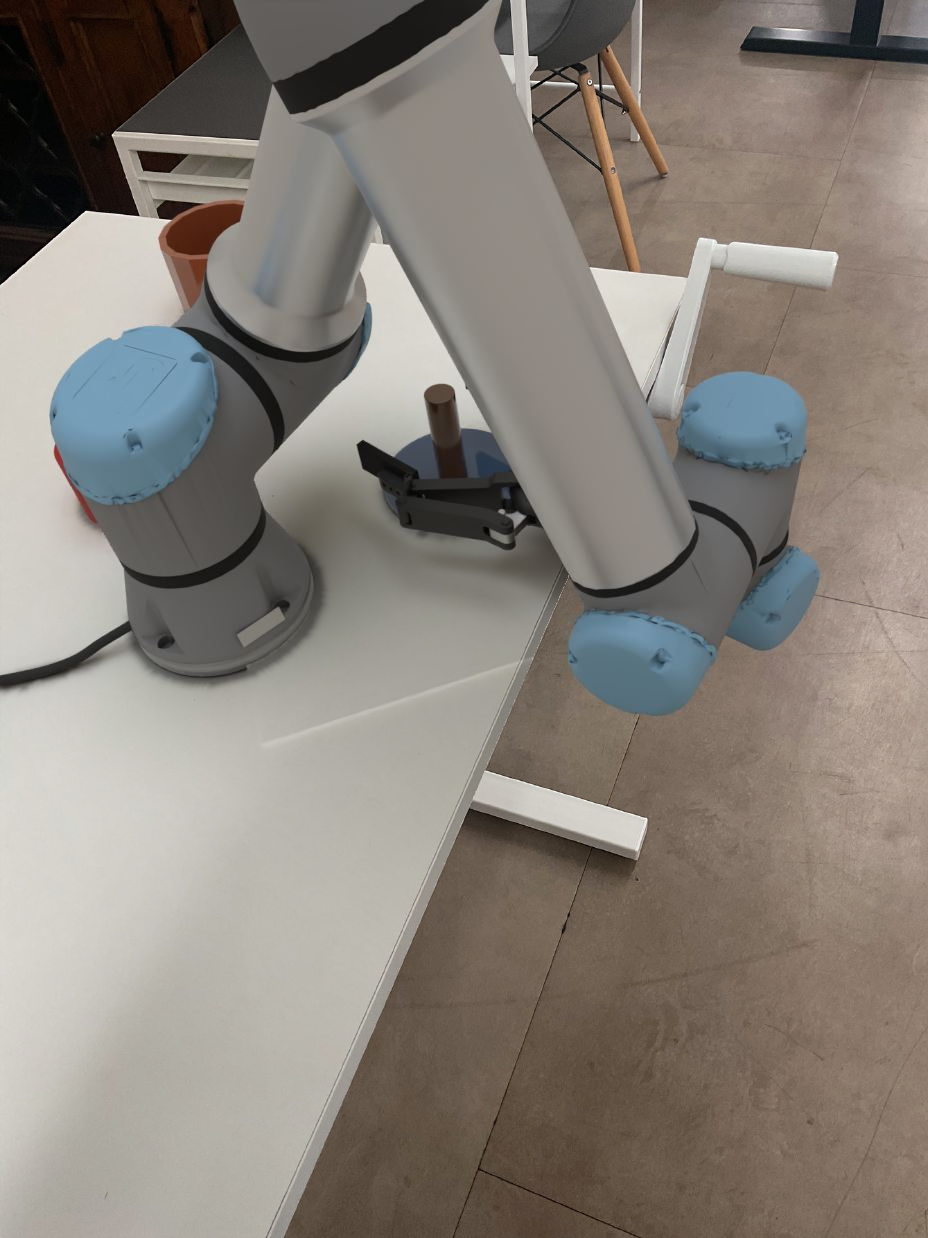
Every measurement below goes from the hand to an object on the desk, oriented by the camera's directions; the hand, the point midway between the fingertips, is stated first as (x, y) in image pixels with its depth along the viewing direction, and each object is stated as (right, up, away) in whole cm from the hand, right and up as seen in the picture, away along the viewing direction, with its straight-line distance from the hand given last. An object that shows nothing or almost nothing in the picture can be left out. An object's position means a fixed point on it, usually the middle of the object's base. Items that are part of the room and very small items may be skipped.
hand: (415, 412), depth 87 cm
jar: (-21, +17, +26) cm, 38 cm away
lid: (+3, -5, +3) cm, 7 cm away
